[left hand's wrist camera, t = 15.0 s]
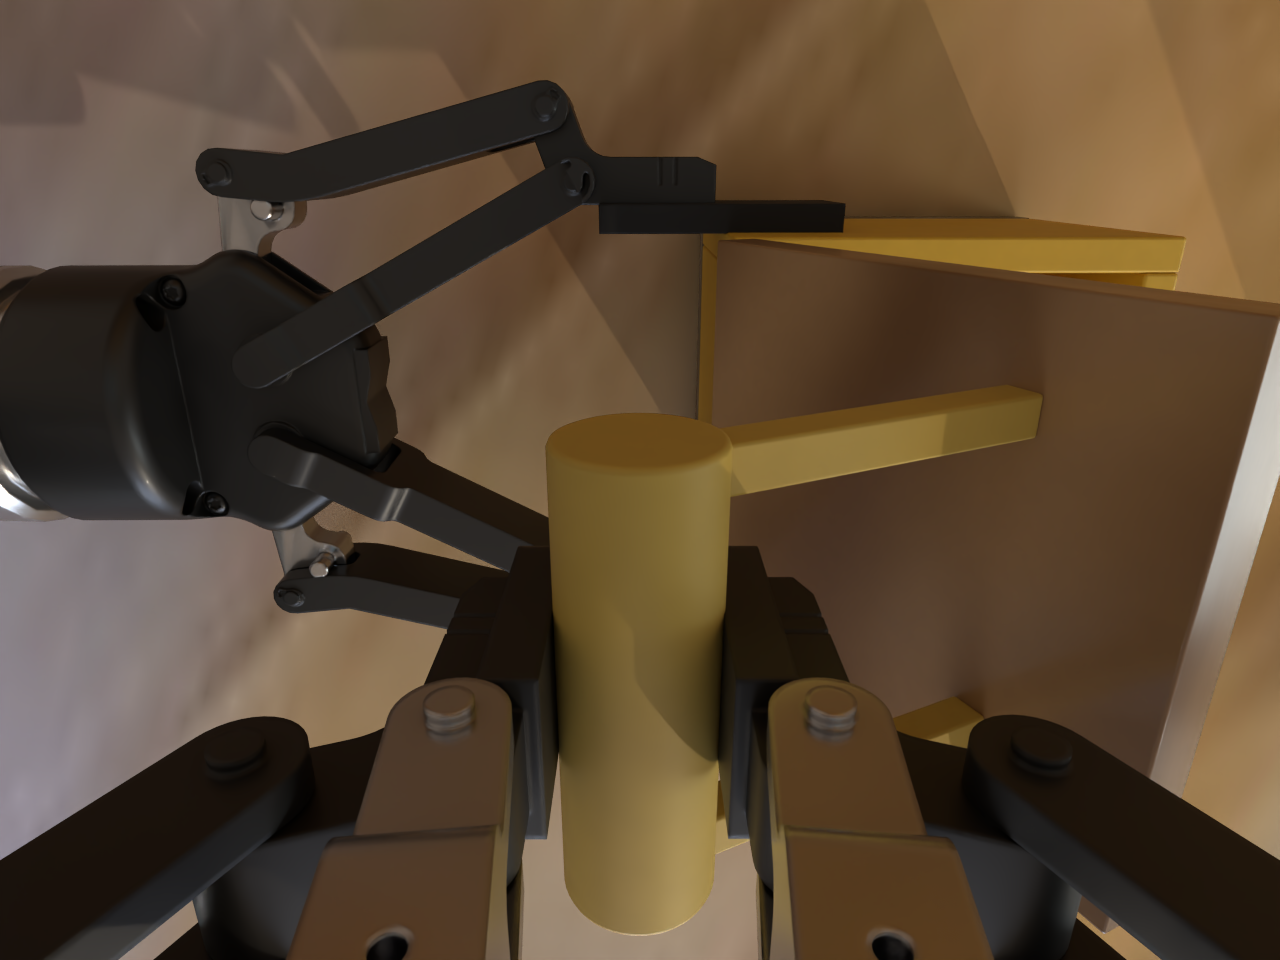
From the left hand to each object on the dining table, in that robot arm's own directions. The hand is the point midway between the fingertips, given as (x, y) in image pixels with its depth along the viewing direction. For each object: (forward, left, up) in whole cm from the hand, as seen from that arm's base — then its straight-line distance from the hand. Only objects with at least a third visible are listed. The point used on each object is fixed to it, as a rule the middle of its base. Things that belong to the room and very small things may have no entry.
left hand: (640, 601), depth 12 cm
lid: (-5, +1, -4) cm, 7 cm away
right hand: (-5, +1, -13) cm, 14 cm away
